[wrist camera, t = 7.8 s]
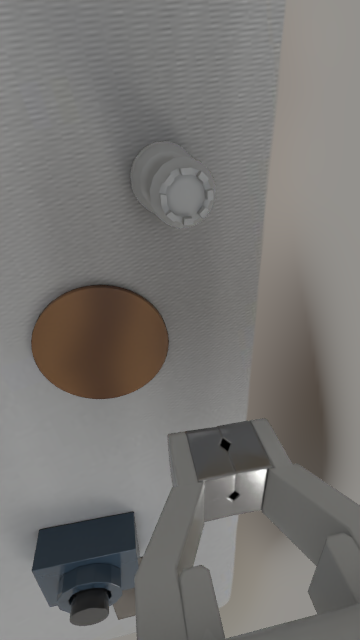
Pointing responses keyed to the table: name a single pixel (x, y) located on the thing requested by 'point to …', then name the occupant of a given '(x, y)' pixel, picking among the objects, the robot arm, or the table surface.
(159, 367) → the coaster
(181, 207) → the rook chess piece
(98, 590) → the dark grey push button
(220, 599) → the table surface
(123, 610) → the platform
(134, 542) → the blue push button box
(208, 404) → the table surface
